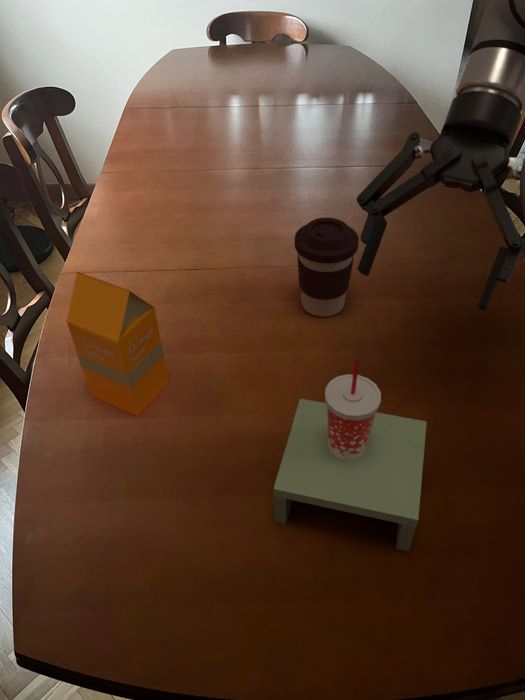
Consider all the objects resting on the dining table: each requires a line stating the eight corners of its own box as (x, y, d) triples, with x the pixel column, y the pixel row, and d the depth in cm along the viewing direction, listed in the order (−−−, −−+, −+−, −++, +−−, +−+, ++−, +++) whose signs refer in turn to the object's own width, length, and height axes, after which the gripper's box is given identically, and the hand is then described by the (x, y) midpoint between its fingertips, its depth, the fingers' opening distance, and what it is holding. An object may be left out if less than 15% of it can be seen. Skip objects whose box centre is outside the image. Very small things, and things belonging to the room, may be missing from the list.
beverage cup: (377, 464, 68) (393, 380, 59) (325, 467, 68) (331, 385, 58) (367, 423, 73) (379, 339, 63) (317, 426, 73) (323, 343, 63)
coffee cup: (342, 283, 105) (349, 208, 94) (359, 319, 98) (368, 242, 87) (288, 290, 104) (288, 215, 93) (300, 327, 97) (302, 250, 86)
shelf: (408, 552, 68) (418, 520, 63) (273, 521, 71) (273, 488, 66) (417, 455, 78) (426, 421, 73) (298, 432, 81) (299, 398, 76)
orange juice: (137, 417, 83) (109, 308, 70) (89, 395, 87) (53, 287, 73) (170, 382, 88) (149, 273, 75) (123, 362, 92) (95, 255, 78)
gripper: (606, 141, 63) (536, 329, 64) (385, 102, 72) (326, 266, 73) (620, 108, 56) (540, 319, 57) (373, 70, 65) (308, 251, 66)
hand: (420, 290), depth 65 cm, fingers open, 13 cm apart
